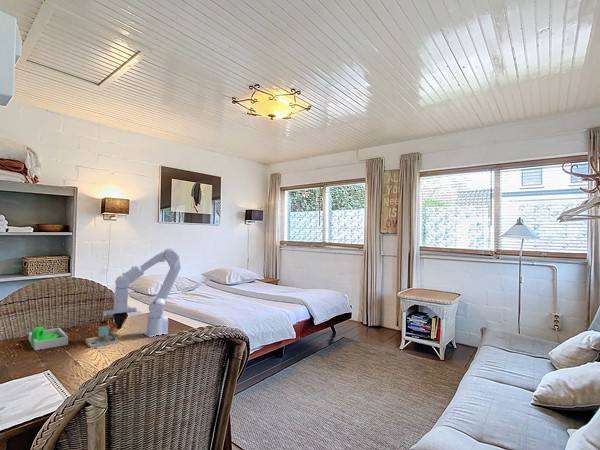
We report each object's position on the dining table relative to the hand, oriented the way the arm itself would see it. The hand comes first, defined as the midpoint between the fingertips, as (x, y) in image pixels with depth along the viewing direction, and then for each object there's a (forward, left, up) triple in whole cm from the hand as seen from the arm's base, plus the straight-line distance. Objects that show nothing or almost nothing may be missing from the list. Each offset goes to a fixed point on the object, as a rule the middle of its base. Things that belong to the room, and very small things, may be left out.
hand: (118, 328), depth 158 cm
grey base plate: (+7, +2, -4) cm, 9 cm away
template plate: (+8, +5, -4) cm, 10 cm away
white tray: (+26, -12, -4) cm, 29 cm away
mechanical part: (+26, -12, -5) cm, 29 cm away
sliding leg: (+7, +2, -3) cm, 7 cm away
